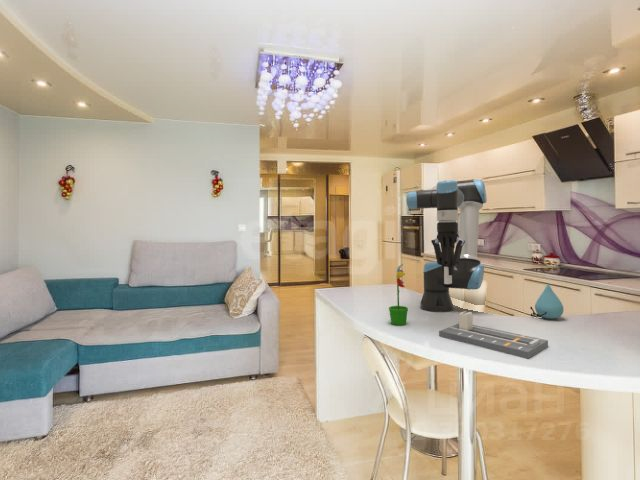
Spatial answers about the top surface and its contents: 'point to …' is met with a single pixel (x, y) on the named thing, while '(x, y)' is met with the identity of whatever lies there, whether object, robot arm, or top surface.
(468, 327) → the fader tab
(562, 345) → the top surface
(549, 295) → the toy
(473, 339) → the console
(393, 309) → the potted flower
